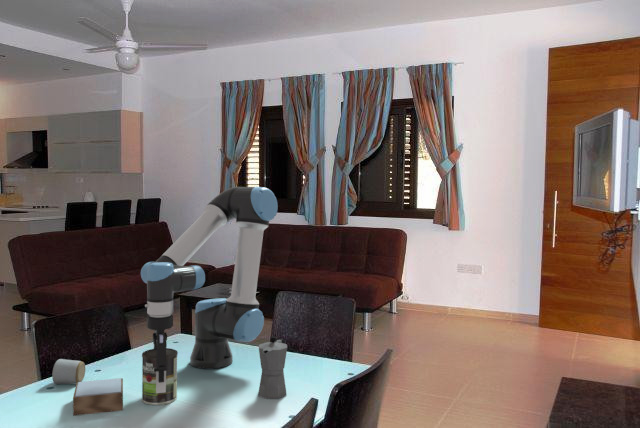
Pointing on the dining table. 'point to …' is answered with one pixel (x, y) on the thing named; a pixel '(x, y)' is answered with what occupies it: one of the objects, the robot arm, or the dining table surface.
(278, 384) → the coffeepot
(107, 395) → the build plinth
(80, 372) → the ceramic mug
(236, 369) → the dining table surface
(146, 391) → the coffee can
